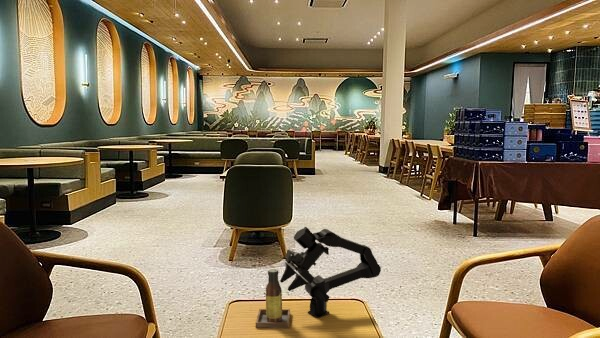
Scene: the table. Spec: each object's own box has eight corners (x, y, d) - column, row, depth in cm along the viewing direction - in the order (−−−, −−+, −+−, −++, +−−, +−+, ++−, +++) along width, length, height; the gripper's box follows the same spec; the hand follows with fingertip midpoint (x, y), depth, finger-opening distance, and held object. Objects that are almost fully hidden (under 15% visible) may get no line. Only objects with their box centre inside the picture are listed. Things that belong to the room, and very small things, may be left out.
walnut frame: (259, 313, 182) (259, 309, 182) (290, 313, 182) (290, 309, 182) (255, 327, 170) (255, 322, 170) (288, 328, 170) (288, 323, 170)
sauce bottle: (284, 321, 175) (284, 271, 172) (270, 324, 172) (269, 274, 169) (277, 314, 180) (277, 266, 178) (263, 318, 177) (262, 269, 175)
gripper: (289, 237, 185) (263, 266, 182) (306, 249, 167) (278, 281, 165) (307, 253, 188) (282, 282, 186) (325, 267, 171) (298, 299, 168)
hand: (284, 286), depth 176 cm, fingers open, 9 cm apart
